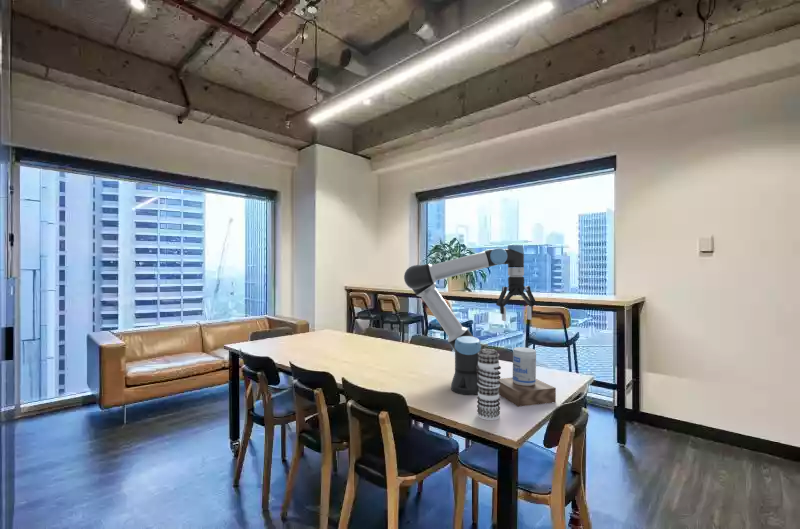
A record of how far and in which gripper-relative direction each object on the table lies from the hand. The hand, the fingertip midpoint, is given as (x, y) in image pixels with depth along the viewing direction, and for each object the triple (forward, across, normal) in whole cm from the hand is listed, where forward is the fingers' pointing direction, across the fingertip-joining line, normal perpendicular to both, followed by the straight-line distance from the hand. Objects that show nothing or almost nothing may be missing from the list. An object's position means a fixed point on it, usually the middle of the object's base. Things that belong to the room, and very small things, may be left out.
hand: (516, 320), depth 186 cm
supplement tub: (+25, -8, -19) cm, 32 cm away
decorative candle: (+30, -32, -34) cm, 56 cm away
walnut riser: (+30, -8, -19) cm, 37 cm away
